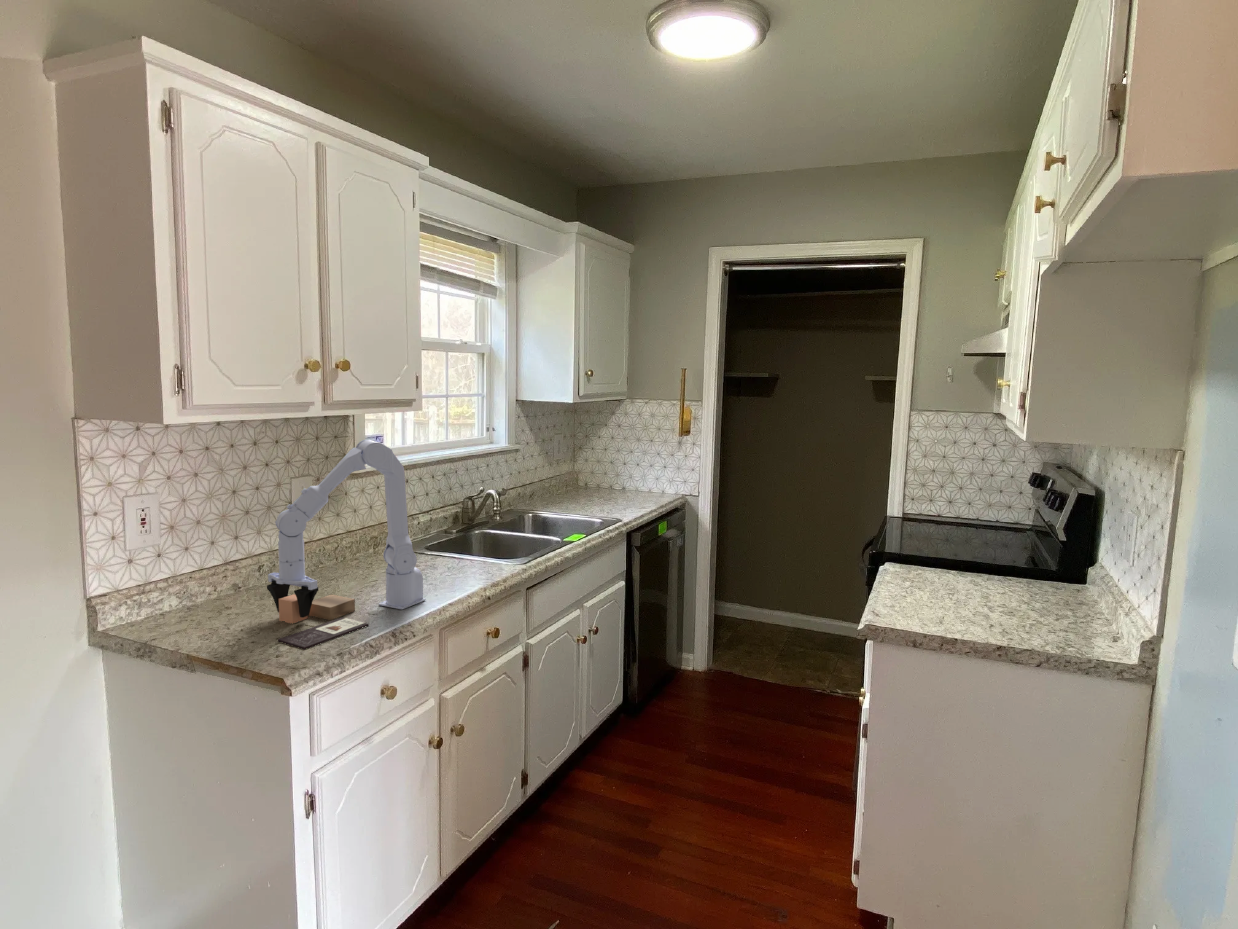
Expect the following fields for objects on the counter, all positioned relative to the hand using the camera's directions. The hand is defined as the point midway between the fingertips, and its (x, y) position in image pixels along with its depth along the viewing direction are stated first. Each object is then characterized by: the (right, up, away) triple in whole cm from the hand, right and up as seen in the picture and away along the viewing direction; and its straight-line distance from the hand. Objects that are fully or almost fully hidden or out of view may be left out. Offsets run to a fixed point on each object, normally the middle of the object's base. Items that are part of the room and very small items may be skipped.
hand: (293, 613), depth 179 cm
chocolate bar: (+11, -3, -9) cm, 15 cm away
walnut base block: (+7, -1, +6) cm, 9 cm away
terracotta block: (0, -2, 0) cm, 2 cm away
